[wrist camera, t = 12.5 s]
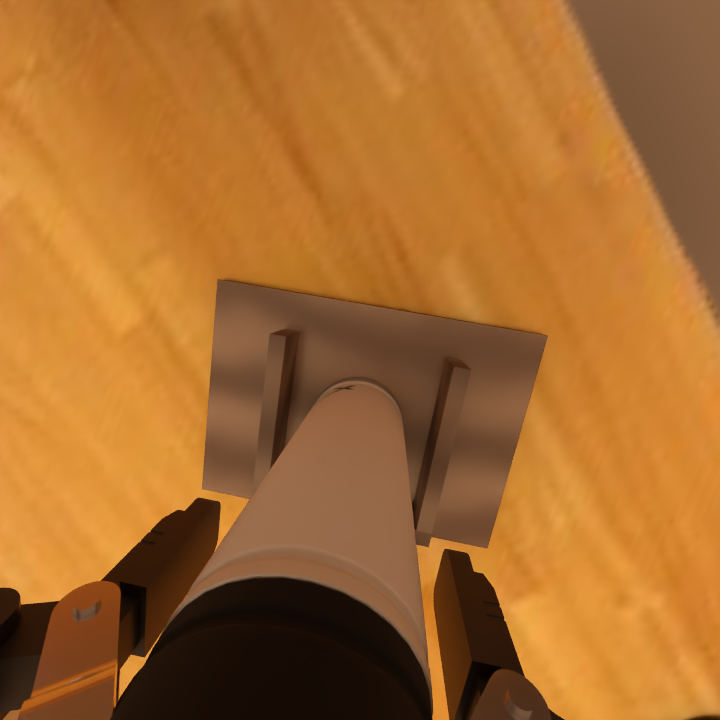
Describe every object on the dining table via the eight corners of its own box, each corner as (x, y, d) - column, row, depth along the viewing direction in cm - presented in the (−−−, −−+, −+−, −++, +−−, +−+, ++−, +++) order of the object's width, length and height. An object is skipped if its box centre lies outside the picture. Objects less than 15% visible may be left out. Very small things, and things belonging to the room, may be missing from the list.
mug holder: (224, 279, 24) (191, 277, 20) (540, 334, 22) (572, 342, 19) (208, 482, 27) (178, 513, 23) (483, 538, 26) (500, 582, 22)
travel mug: (328, 360, 23) (-6, 728, 4) (417, 398, 23) (576, 981, 3) (297, 437, 24) (-76, 1019, 5) (380, 473, 24) (347, 1202, 5)
